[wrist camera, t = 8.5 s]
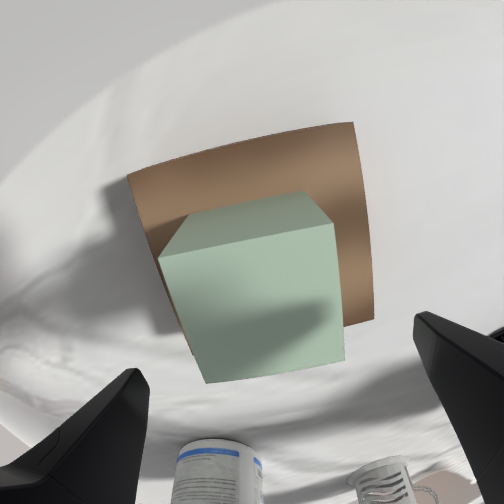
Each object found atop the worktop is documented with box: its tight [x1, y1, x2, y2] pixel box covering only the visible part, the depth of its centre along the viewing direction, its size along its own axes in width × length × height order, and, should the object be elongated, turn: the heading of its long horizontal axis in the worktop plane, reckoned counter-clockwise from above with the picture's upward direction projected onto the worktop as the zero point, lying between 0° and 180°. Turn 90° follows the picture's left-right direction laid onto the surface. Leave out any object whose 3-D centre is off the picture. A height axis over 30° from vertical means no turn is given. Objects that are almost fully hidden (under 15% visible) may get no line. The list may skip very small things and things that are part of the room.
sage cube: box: [158, 190, 345, 384], centre depth 14 cm, size 6×6×6 cm
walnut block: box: [127, 122, 374, 355], centre depth 19 cm, size 12×12×4 cm
